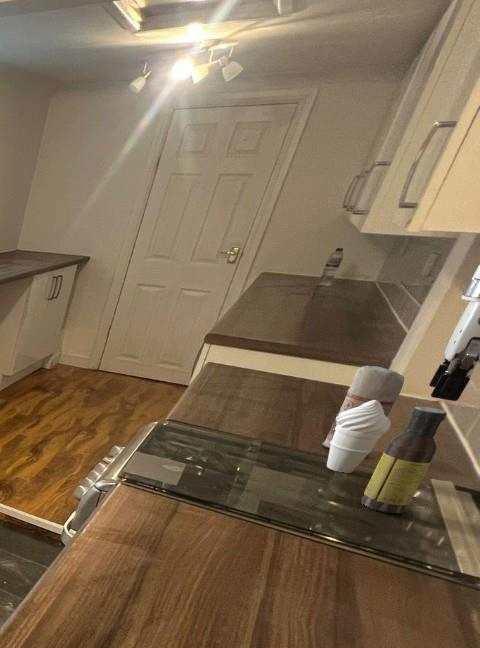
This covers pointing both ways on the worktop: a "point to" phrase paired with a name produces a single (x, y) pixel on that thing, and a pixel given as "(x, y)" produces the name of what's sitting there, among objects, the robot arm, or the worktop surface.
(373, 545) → the worktop surface
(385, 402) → the spray can
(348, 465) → the ice cream cone
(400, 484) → the sauce bottle
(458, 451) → the worktop surface
